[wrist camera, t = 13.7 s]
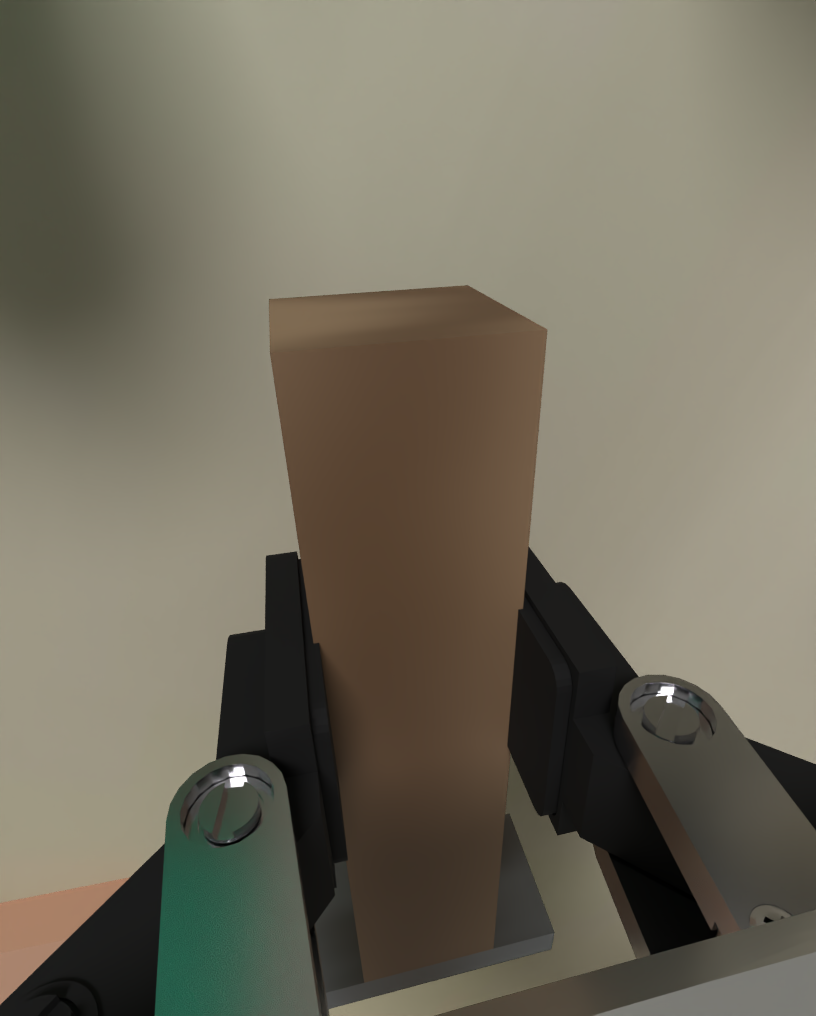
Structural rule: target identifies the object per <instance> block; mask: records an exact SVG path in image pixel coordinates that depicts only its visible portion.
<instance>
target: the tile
mask: <svg viewBox="0 0 816 1016" xmlns="http://www.w3.org/2000/svg"><path fill="white" fill-rule="evenodd" d="M128 879H129V878H125V879H120V880H115V881H110V882H105V883H100V884H95V885H90V886H85V887H80V888H74V889H69V890H64V891H59V892H54V893H49V894H44V895H39V896H34V897H29V898H24V899H18V900H13V901H8V902H3V903H0V1005H1V1003H2V1002H3V1001H4V1000H6V999H7V998H8V997H9V996H10V995H11V994H12V993H13V992H14V991H15V990H16V989H17V988H18V987H19V986H20V985H21V984H22V983H23V982H24V981H25V980H26V979H27V978H28V977H29V976H30V975H31V974H32V973H33V972H34V971H35V970H36V969H37V968H38V967H39V966H40V965H41V964H42V963H43V962H44V961H45V960H46V959H47V958H48V957H49V956H50V955H51V954H52V953H53V952H55V951H56V950H57V949H58V948H59V947H60V946H61V945H62V944H63V943H64V942H65V941H66V940H67V939H68V938H69V937H70V936H71V935H72V934H73V933H74V932H75V931H76V930H77V929H78V928H79V927H80V926H81V925H82V924H83V923H84V922H85V921H86V920H87V919H88V918H89V917H90V916H91V915H92V914H93V913H94V912H95V911H96V910H97V909H98V908H99V907H100V906H101V905H102V904H104V903H105V902H106V901H107V900H108V899H109V898H110V897H111V896H112V895H113V894H114V893H115V892H116V891H117V890H118V889H119V888H120V887H121V886H122V885H123V884H124V883H125V882H126V881H127V880H128Z"/></svg>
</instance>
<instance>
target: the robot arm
mask: <svg viewBox="0 0 816 1016" xmlns="http://www.w3.org/2000/svg"><path fill="white" fill-rule="evenodd" d="M507 746H508V748H509V751H510V753H511V755H512V758H513V760H514V762H515V764H516V767H517V769H518V771H519V774H520V776H521V778H522V781H523V783H524V785H525V787H526V790H527V792H528V794H529V797H530V799H531V801H532V804H533V806H534V808H535V810H536V812H537V813H538V815H540V816H544V815H548V816H549V818H550V820H551V822H552V824H553V827H554V829H555V831H556V833H557V835H561V834H565V833H570V832H574V831H577V832H578V834H579V836H580V837H581V838H583V839H585V840H586V841H588V842H590V843H592V844H593V846H594V850H595V854H596V858H597V860H598V863H599V865H600V868H601V870H602V873H603V875H604V878H605V880H606V883H607V885H608V888H609V891H610V893H611V896H612V898H613V901H614V903H615V906H616V908H617V911H618V913H619V916H620V918H621V921H622V923H623V926H624V928H625V931H626V933H627V936H628V938H629V941H630V943H631V946H632V949H633V951H634V954H635V956H636V959H635V960H632V961H628V962H624V963H621V964H617V965H614V966H610V967H606V968H603V969H599V970H596V971H592V972H588V973H585V974H581V975H578V976H574V977H571V978H567V979H563V980H560V981H556V982H553V983H549V984H546V985H542V986H538V987H535V988H531V989H528V990H524V991H521V992H517V993H513V994H510V995H506V996H503V997H499V998H496V999H492V1000H488V1001H485V1002H481V1003H478V1004H474V1005H471V1006H467V1007H463V1008H460V1009H456V1010H453V1011H449V1012H446V1013H442V1014H439V1015H435V1016H816V764H813V763H811V762H808V761H805V760H803V759H800V758H798V757H795V756H792V755H790V754H787V753H784V752H782V751H779V750H777V749H774V748H771V747H769V746H766V745H763V744H761V743H758V742H756V741H753V740H750V739H748V738H745V737H744V735H743V734H742V733H741V731H740V730H739V729H738V728H737V726H736V725H735V724H734V722H733V721H732V720H731V718H730V717H729V716H728V714H727V713H726V712H725V710H724V709H723V708H722V706H721V705H720V704H719V703H718V702H717V701H716V700H715V699H714V698H713V697H712V696H711V695H710V694H708V693H707V692H705V691H704V690H702V689H701V688H699V687H698V686H696V685H694V684H692V683H690V682H687V681H685V680H682V679H680V678H676V677H671V676H666V675H645V676H641V677H638V675H637V674H636V673H635V671H634V670H633V669H632V668H631V666H630V665H629V664H628V662H627V661H626V660H625V658H624V657H623V656H622V655H621V653H620V652H619V651H618V649H617V648H616V647H615V646H614V644H613V643H612V642H611V640H610V639H609V638H608V636H607V635H606V634H605V633H604V631H603V630H602V629H601V627H600V626H599V625H598V624H597V622H596V621H595V620H594V618H593V617H592V616H591V614H590V613H589V612H588V611H587V609H586V608H585V607H584V605H583V604H582V603H581V601H580V600H579V599H578V598H577V596H576V595H575V594H574V592H573V591H572V590H571V589H570V588H569V587H568V586H567V585H566V584H565V583H562V582H558V583H555V581H554V580H553V579H552V577H551V576H550V575H549V573H548V572H547V571H546V569H545V568H544V567H543V565H542V564H541V563H540V561H539V560H538V559H537V557H536V556H535V554H534V553H533V552H532V550H531V549H530V548H529V546H528V557H527V568H526V580H525V591H524V603H523V609H518V620H517V632H516V644H515V656H514V669H513V681H512V693H511V705H510V717H509V730H508V742H507ZM344 861H348V855H347V846H346V838H345V829H344V821H343V812H342V804H341V796H340V787H339V779H338V772H337V765H336V758H335V751H334V744H333V737H332V730H331V723H330V716H329V709H328V702H327V695H326V688H325V681H324V674H323V667H322V660H321V653H320V646H319V643H313V637H312V630H311V623H310V617H309V610H308V603H307V597H306V590H305V583H304V577H303V570H302V563H301V559H298V555H297V552H290V553H283V554H276V555H268V556H266V602H265V630H259V631H253V632H247V633H240V634H234V635H230V636H229V637H228V642H227V651H226V662H225V672H224V683H223V693H222V704H221V714H220V725H219V735H218V746H217V756H216V760H215V761H213V762H210V763H208V764H207V765H205V766H204V767H202V768H201V769H199V770H198V771H196V772H195V773H193V774H192V775H191V776H190V777H189V778H188V779H187V780H186V781H185V782H184V783H183V784H182V785H181V787H180V788H179V789H178V791H177V793H176V795H175V796H174V798H173V800H172V802H171V803H170V807H169V811H168V815H167V820H166V833H165V844H164V845H163V846H162V847H161V848H160V849H159V850H158V851H157V852H156V853H155V854H154V855H153V856H151V857H150V858H149V859H148V860H147V861H146V862H145V863H144V864H143V865H142V866H141V867H140V868H139V869H138V870H137V871H136V872H135V873H134V874H133V875H132V876H131V877H130V878H129V879H128V880H127V881H126V882H125V883H124V884H123V885H122V886H121V887H120V888H119V889H118V890H117V891H116V892H115V893H114V894H113V895H112V896H111V897H110V898H109V899H108V900H107V901H106V902H105V903H104V904H102V905H101V906H100V907H99V908H98V909H97V910H96V911H95V912H94V913H93V914H92V915H91V916H90V917H89V918H88V919H87V920H86V921H85V922H84V923H83V924H82V925H81V926H80V927H79V928H78V929H77V930H76V931H75V932H74V933H73V934H72V935H71V936H70V937H69V938H68V939H67V940H66V941H65V942H64V943H63V944H62V945H61V946H60V947H59V948H58V949H57V950H56V951H55V952H53V953H52V954H51V955H50V956H49V957H48V958H47V959H46V960H45V961H44V962H43V963H42V964H41V965H40V966H39V967H38V968H37V969H36V970H35V971H34V972H33V973H32V974H31V975H30V976H29V977H28V978H27V979H26V980H25V981H24V982H23V983H22V984H21V985H20V986H19V987H18V988H17V989H16V990H15V991H14V992H13V993H12V994H11V995H10V996H9V997H8V998H7V999H6V1000H4V1001H3V1002H2V1003H1V1005H0V1016H329V1010H328V1003H327V997H326V990H325V984H324V977H323V971H322V965H321V958H320V952H319V945H318V939H317V932H316V926H315V923H316V922H317V920H318V919H319V917H320V916H321V915H322V913H323V912H324V910H325V909H326V908H327V906H328V905H329V903H330V902H331V900H332V899H333V898H334V896H335V890H334V888H337V885H336V875H335V863H339V862H344Z"/></svg>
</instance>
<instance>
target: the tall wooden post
mask: <svg viewBox="0 0 816 1016" xmlns="http://www.w3.org/2000/svg"><path fill="white" fill-rule="evenodd" d="M269 322H270V356H271V363H272V369H273V376H274V383H275V389H276V396H277V403H278V409H279V416H280V423H281V429H282V436H283V443H284V449H285V456H286V463H287V470H288V476H289V483H290V490H291V496H292V503H293V510H294V516H295V523H296V530H297V536H298V543H299V550H300V557H301V563H302V570H303V577H304V583H305V590H306V597H307V603H308V610H309V617H310V623H311V630H312V637H313V643H319V646H320V653H321V660H322V667H323V674H324V681H325V688H326V695H327V702H328V709H329V716H330V723H331V730H332V737H333V744H334V751H335V758H336V765H337V772H338V779H339V787H340V796H341V804H342V812H343V821H344V829H345V838H346V846H347V855H348V861H344V862H339V863H335V875H336V885H337V888H334V890H335V896H334V898H333V899H332V900H331V902H330V903H329V905H328V906H327V908H326V909H325V910H324V912H323V913H322V915H321V916H320V917H319V919H318V920H317V922H316V923H315V926H316V932H317V939H318V945H319V952H320V958H321V965H322V971H323V977H324V984H325V990H326V997H327V1003H328V1009H330V1008H334V1007H338V1006H342V1005H345V1004H349V1003H353V1002H357V1001H360V1000H364V999H368V998H371V997H375V996H379V995H383V994H386V993H390V992H394V991H397V990H401V989H405V988H409V987H412V986H416V985H420V984H424V983H427V982H431V981H435V980H438V979H442V978H446V977H450V976H453V975H457V974H461V973H465V972H468V971H472V970H476V969H479V968H483V967H487V966H491V965H494V964H498V963H502V962H505V961H509V960H513V959H517V958H520V957H524V956H528V955H532V954H535V953H539V952H543V951H546V950H550V949H551V948H552V943H553V938H554V930H553V927H552V925H551V922H550V920H549V917H548V914H547V912H546V909H545V906H544V904H543V901H542V898H541V896H540V893H539V891H538V888H537V885H536V883H535V880H534V877H533V875H532V872H531V869H530V867H529V864H528V862H527V859H526V856H525V854H524V851H523V848H522V846H521V843H520V840H519V838H518V835H517V833H516V830H515V827H514V825H513V822H512V819H511V817H510V814H505V809H506V798H507V786H508V775H509V763H510V751H509V748H508V746H507V742H508V730H509V717H510V705H511V693H512V681H513V669H514V656H515V644H516V632H517V620H518V609H523V603H524V591H525V580H526V568H527V557H528V545H529V534H530V522H531V511H532V499H533V488H534V477H535V465H536V454H537V442H538V431H539V419H540V408H541V396H542V385H543V373H544V362H545V350H546V339H547V329H545V328H544V327H542V326H540V325H538V324H536V323H535V322H533V321H531V320H529V319H527V318H526V317H524V316H522V315H520V314H518V313H517V312H515V311H513V310H511V309H509V308H508V307H506V306H504V305H502V304H500V303H498V302H497V301H495V300H493V299H491V298H489V297H488V296H486V295H484V294H482V293H480V292H479V291H477V290H475V289H473V288H471V287H470V286H468V285H466V286H452V287H438V288H424V289H409V290H395V291H381V292H366V293H352V294H338V295H323V296H309V297H295V298H281V299H269Z"/></svg>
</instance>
